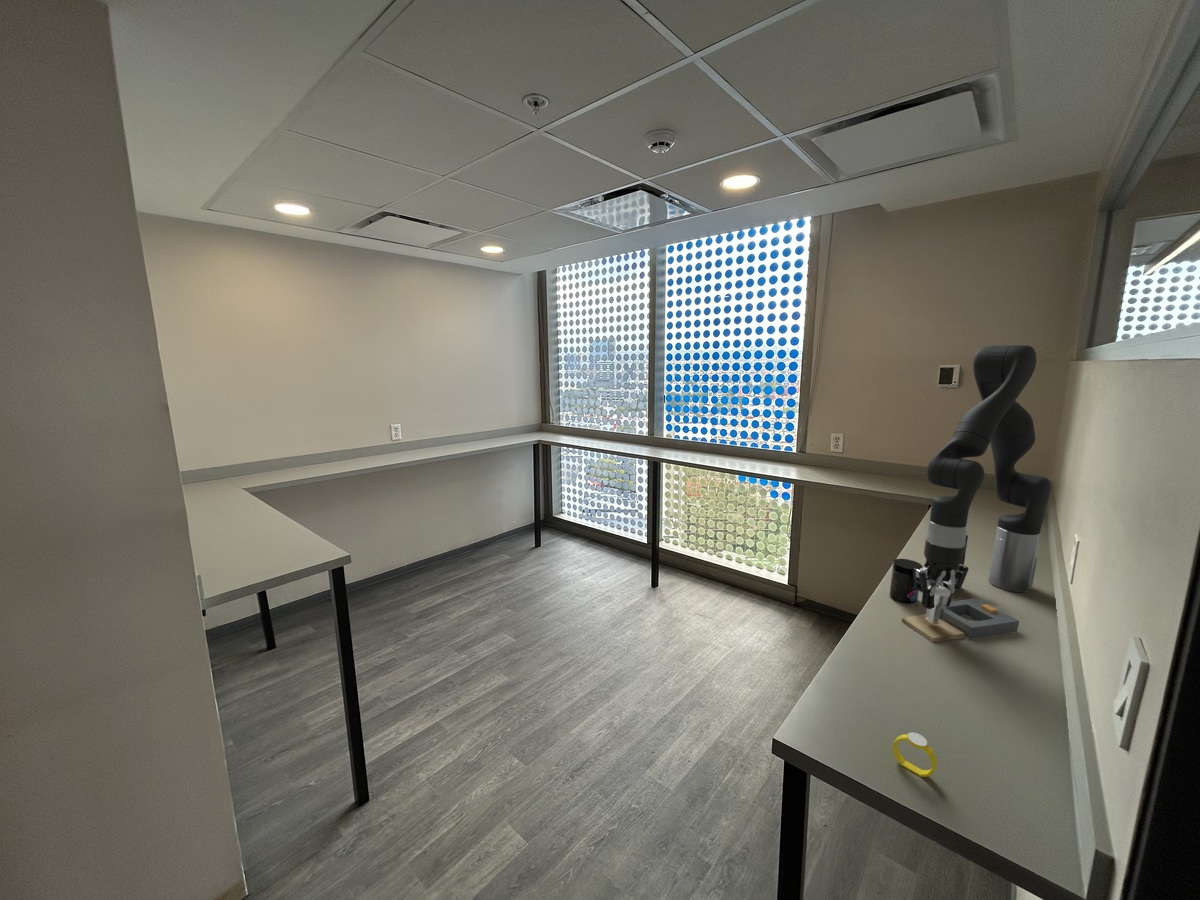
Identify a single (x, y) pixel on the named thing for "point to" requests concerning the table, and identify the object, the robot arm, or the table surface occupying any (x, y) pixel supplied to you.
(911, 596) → the supplement container
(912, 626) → the cork pad
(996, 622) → the gray window plate
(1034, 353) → the robot arm
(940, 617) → the milkshake
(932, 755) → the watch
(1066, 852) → the table surface
